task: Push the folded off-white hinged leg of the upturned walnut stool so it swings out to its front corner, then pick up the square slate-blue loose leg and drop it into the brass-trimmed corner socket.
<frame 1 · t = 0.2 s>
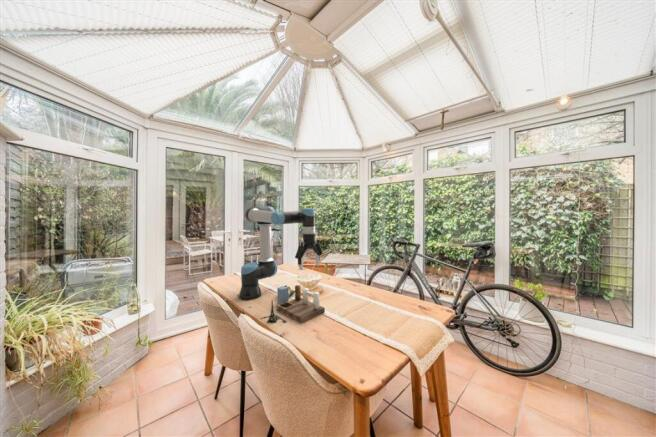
hand: (309, 267, 147), 27 cm above the table, fingers open, 13 cm apart
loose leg: (283, 304, 158), on the table
ceramic sculpture: (286, 297, 171), on the table
hinged leg: (310, 298, 147), point 8 cm above the table, hinge at -90.0°
eiffel tower figurine: (273, 321, 135), on the table
stool seat: (300, 311, 147), on the table
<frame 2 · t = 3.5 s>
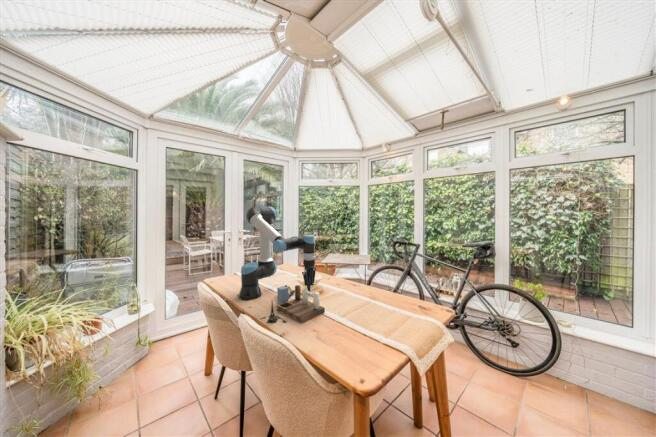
hand: (309, 295, 154), 7 cm above the table, fingers closed
hinged leg: (310, 298, 147), point 8 cm above the table, hinge at -88.1°, touching gripper
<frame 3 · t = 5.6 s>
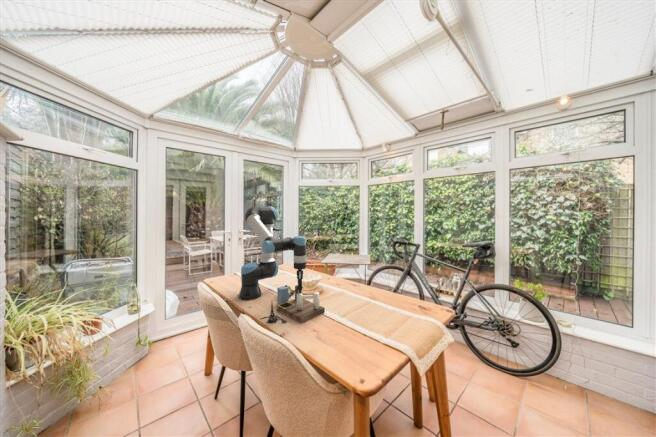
hand: (300, 299, 147), 7 cm above the table, fingers closed
hinged leg: (308, 301, 143), point 8 cm above the table, hinge at -39.0°, touching gripper
everything else where it was.
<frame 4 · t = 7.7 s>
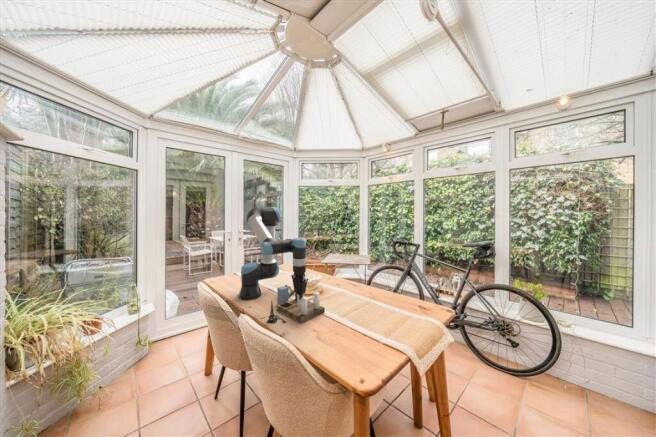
hand: (299, 304, 139), 7 cm above the table, fingers closed
hinged leg: (310, 303, 140), point 8 cm above the table, hinge at 2.5°, touching gripper
everything else where it was.
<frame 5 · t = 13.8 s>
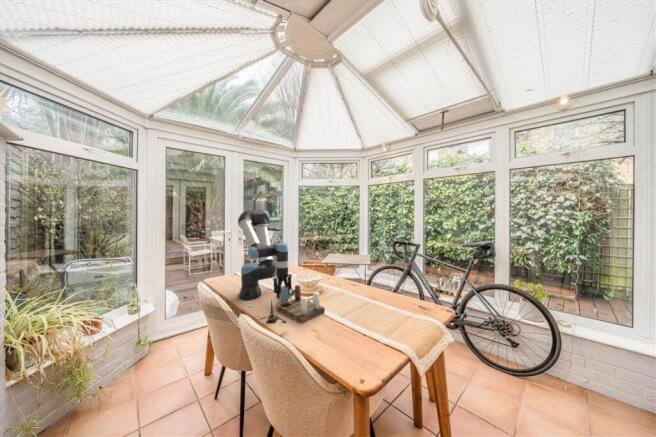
hand: (283, 301, 158), 2 cm above the table, fingers closed on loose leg, 5 cm apart
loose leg: (283, 304, 158), on the table, touching gripper
hinged leg: (310, 303, 140), point 8 cm above the table, hinge at 1.0°
when the fingers open (5 cm above the table, at t = 20.2 s): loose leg drops 3 cm, resting in stool seat.
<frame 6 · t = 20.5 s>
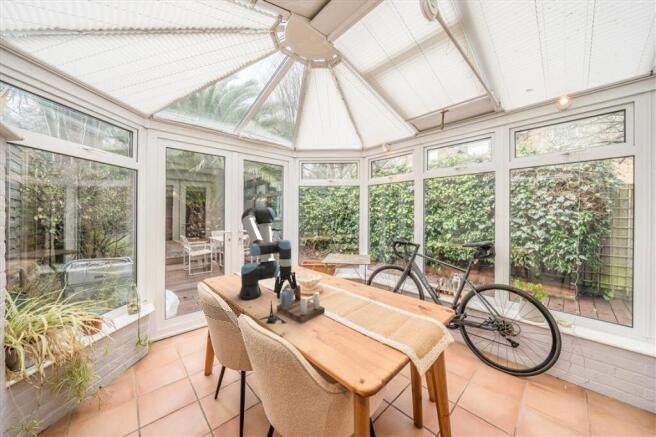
hand: (286, 300, 148), 6 cm above the table, fingers open, 8 cm apart
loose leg: (286, 310, 149), resting in stool seat
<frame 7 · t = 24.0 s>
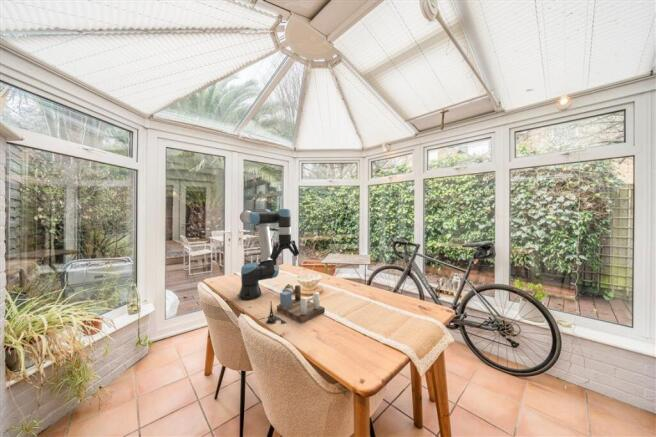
hand: (285, 267, 147), 27 cm above the table, fingers open, 13 cm apart
at the end: hinged leg at +1° (first picture: -90°); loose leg 0.0 cm from the target spot on the stool seat, point 0.0 cm above the stool seat's base; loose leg tilted 0° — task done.
